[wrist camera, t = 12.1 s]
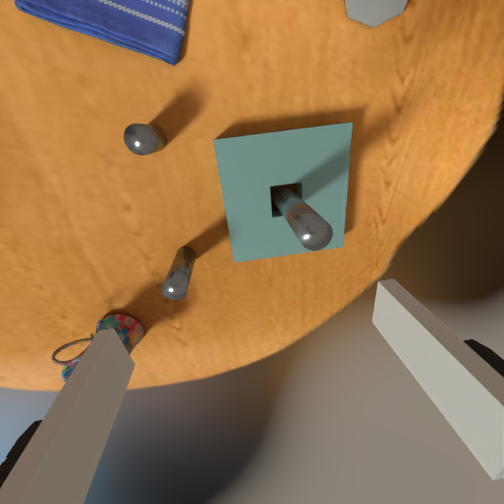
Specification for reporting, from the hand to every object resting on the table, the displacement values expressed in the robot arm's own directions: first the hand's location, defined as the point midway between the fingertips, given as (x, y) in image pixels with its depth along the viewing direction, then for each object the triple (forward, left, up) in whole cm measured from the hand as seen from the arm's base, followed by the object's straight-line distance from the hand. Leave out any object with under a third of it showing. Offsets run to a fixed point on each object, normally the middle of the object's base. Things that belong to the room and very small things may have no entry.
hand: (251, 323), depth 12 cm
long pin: (+1, +7, -27) cm, 28 cm away
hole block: (+1, +7, -27) cm, 28 cm away
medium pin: (+9, -10, -27) cm, 30 cm away
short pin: (-9, -10, -27) cm, 30 cm away
